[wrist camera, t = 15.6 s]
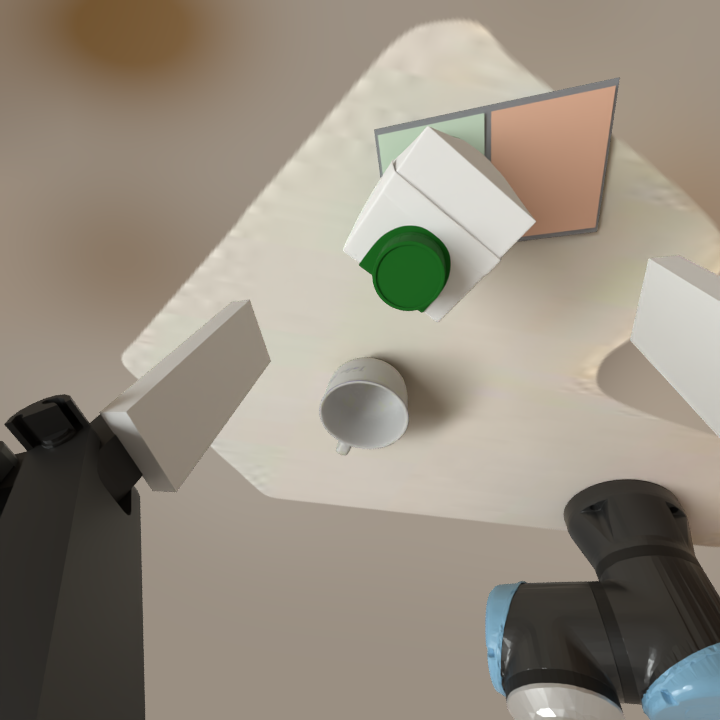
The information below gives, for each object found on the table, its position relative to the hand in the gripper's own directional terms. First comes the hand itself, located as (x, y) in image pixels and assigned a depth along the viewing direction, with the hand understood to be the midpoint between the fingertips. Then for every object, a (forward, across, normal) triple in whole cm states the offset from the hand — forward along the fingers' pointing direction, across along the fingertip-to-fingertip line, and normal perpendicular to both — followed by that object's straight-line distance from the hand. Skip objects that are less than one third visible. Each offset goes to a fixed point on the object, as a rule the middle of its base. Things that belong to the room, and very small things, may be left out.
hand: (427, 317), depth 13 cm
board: (+29, -5, -1) cm, 29 cm away
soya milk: (+28, 0, 0) cm, 28 cm away
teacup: (+29, +11, +24) cm, 39 cm away
